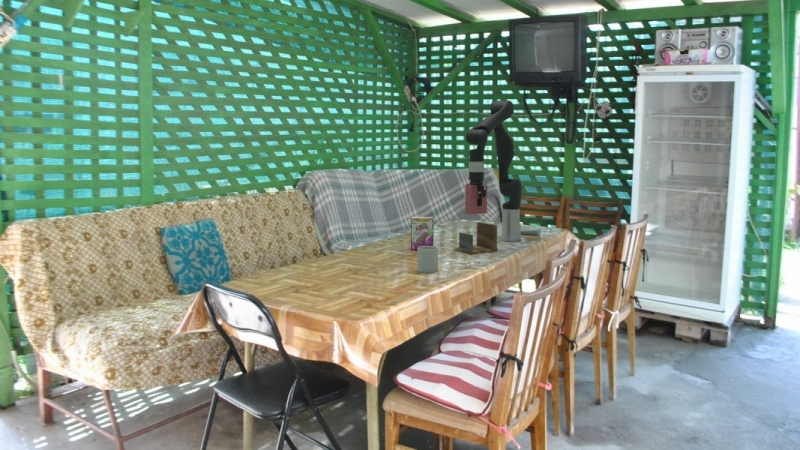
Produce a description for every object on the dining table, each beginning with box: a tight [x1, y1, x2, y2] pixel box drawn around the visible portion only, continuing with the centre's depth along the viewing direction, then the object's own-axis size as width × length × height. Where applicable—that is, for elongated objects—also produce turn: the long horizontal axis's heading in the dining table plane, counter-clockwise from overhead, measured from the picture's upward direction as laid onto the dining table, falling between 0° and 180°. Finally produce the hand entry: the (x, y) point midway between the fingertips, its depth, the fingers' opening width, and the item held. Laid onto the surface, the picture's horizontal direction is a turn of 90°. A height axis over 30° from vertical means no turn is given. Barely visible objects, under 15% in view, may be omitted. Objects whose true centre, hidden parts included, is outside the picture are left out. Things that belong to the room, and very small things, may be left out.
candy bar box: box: [410, 216, 435, 251], centre depth 337 cm, size 11×5×16 cm, turn 84°
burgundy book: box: [464, 183, 488, 215], centre depth 329 cm, size 10×4×14 cm, turn 123°
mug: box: [416, 246, 439, 274], centre depth 288 cm, size 11×10×10 cm
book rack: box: [453, 221, 498, 256], centre depth 332 cm, size 17×13×13 cm
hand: (476, 205), depth 330 cm, fingers closed on burgundy book, 4 cm apart
